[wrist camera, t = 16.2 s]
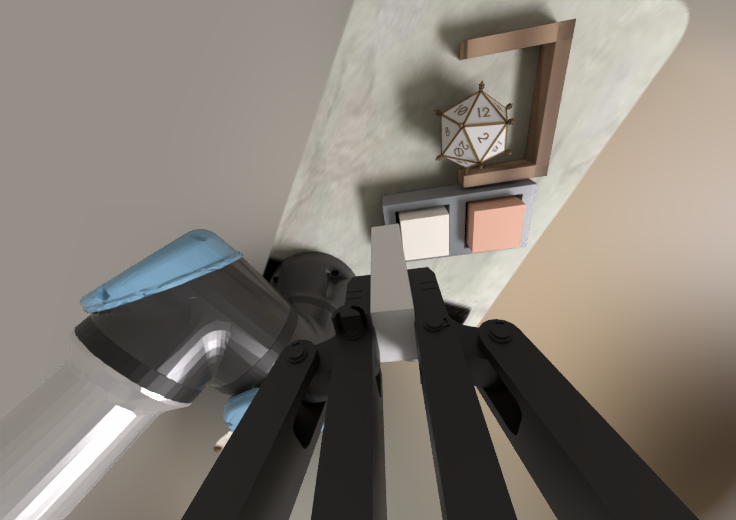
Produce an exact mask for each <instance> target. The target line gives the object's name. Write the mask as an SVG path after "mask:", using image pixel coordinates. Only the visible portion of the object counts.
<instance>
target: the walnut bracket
mask: <svg viewBox="0 0 736 520" xmlns="http://www.w3.org/2000/svg"><path fill="white" fill-rule="evenodd" d="M575 22H576V19H572V20H567V21H561V22H556V23H551V24H546V25H541V26H536V27H531V28H526V29H521V30H516V31H511V32H506V33H501V34H496V35H491V36H486V37H481V38H476V39H471V40H467V41H464V42H461V43H460V60H463V59H468V58H473V57H478V56H484V55H489V54H494V53H499V52H505V51H510V50H515V49H520V48H525V47H531V46H536V45H541V46H540V53H539V60H538V67H537V75H536V82H535V89H534V96H533V103H532V110H531V117H530V124H529V131H528V139H527V146H526V153H525V159H522V160H516V161H509V162H503V163H496V164H490V165H483V167H482V169H481V170H480V169H478V166H477V167H470V168H469V172H468V173H467V174H465V172H464V171H465V170H464V169H465V168H464V169H458V181H459V182H460V184H461V185H462V186H463V187H464V188H466V187H473V186H479V185H486V184H493V183H500V182H507V181H513V180H520V179H527V178H534V177H541V176H547V171H548V165H549V160H550V155H551V149H552V144H553V139H554V133H555V128H556V123H557V117H558V112H559V107H560V101H561V96H562V91H563V85H564V80H565V75H566V69H567V64H568V59H569V53H570V48H571V43H572V37H573V32H574V27H575Z"/></svg>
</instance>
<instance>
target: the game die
mask: <svg viewBox="0 0 736 520" xmlns="http://www.w3.org/2000/svg"><path fill="white" fill-rule="evenodd" d="M483 88H484V83H483V80H482V82H481V83H480V84H479V91H478V92H476V93H475V94H473V95H471V96H470V97H468V98H466V99H465V100H463V101H461V102H460V103H458V104H456V105H455V106H453V107H451V108H450V109H448V110H446V111H445V112H443V113H442V112H441V111H439V110H434V111H435V113H436V114H437V115H439V116H441V155H438V156H437V158H436V160H439V161H440V159H441V158H442V157H444V158H447V159H449V160H451V161H453V162H455V163H457V164H459V165H461V166H463V167H466V168H465V169H464V170H465V171H464V172H465V174H467V173H468V172H469V168H470V167H472V166H475V165H478V169H480V170H481V169H482V167H483V164H482V163H483V162H485V161H487V160H489V159H491V158H493V157H495V156H497V155H499V154H501V153H503V152H504V153H505V154H507V155H512V154H511V152H510V151H509V150H506V140H507V129H508V124H509V125H511V124H513V123H514V122H515V120H514V119H513V118H512V119H509V120H508V116H507V110H509V109H510V108H512V106H513V103H512V104H510V103H509V104H508V105H507V106H506V107H504V106H503V105H501V104H500V103H499V102H497V101H496V100H494V99H493V98H492V97H490V96H489V95H487V94H486V93H485V92H483Z"/></svg>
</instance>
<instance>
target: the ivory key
mask: <svg viewBox="0 0 736 520" xmlns="http://www.w3.org/2000/svg"><path fill="white" fill-rule="evenodd" d="M399 221H400V230H401V239H402V244H403V250H404V256H405V261H406V260H414V259H422V258H430V257H438V256H446V255H449V213H448V212H447V210H446V208H445V206H444V205H440V206H433V207H426V208H419V209H412V210H405V211H399Z"/></svg>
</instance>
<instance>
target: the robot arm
mask: <svg viewBox="0 0 736 520" xmlns="http://www.w3.org/2000/svg"><path fill="white" fill-rule="evenodd" d="M242 256H243V255H242V254H241V253H240V252H237V251H235V250H234V249H233V248H232V247H231V246H229V245H228V244H227V243H226V242H225V241H223V240H222V239H221V238H220V237H219V236H218V235H216V234H215V233H213V232H211V231H208V230H203V229H199V230H193V231H190V232H188V233H186V234H185V235H183V236H182V237H180V238H178V239H176V240H175V241H173V242H172V243H170V244H168V245H166V246H165V247H163V248H162V249H160V250H158V251H157V252H155V253H153V254H152V255H150V256H148V257H147V258H145V259H143V260H142V261H140V262H138V263H137V264H135V265H134V266H132V267H130V268H129V269H127V270H125V271H124V272H122V273H121V274H119V275H118V276H116V277H114V278H112V279H111V280H109V281H108V282H106V283H104V284H102V285H101V286H99V287H98V288H96V289H94V290H93V291H91V292H90V293H88V294H86V295H85V296H83V297H82V298H81V299H80V304H81V305H82V306H83V310H84V311H85V312H87V313H92V314H91V315H90V316H89V317H87V318H86V319H85V320H84V321H83V322H81V323H80V324H79V325H78V326H77V327H75V328H74V329H73V330H72V331H71V333H70V356H69V359H68V360H67V361H66V362H64V363H63V364H62V365H61V366H60V367H59V368H57V369H56V370H55V371H54V372H53V373H52V374H50V375H49V376H48V377H47V378H46V379H45V380H44V381H42V382H41V383H40V384H39V385H38V386H37V387H35V388H34V389H33V390H32V391H31V392H29V393H28V394H27V395H26V396H25V397H24V398H22V399H21V400H20V401H19V402H18V403H17V404H16V405H14V406H13V407H12V408H11V409H10V410H8V411H7V412H6V413H5V414H4V415H3V416H1V417H0V520H64V519H65V517H66V516H67V515H68V514H69V513H70V512H71V511H72V510H73V509H74V507H76V505H77V504H78V503H79V502H80V501H81V500H82V499H83V498H84V497H85V496H86V494H87V493H88V492H89V491H90V490H91V489H92V488H93V487H94V486H95V484H96V483H97V482H98V481H99V480H100V479H101V478H102V477H103V476H104V475H105V473H106V472H107V471H108V470H109V469H110V468H111V467H112V466H113V465H114V464H115V463H116V461H117V460H118V459H119V458H120V457H121V456H122V455H123V454H124V453H125V451H126V450H127V449H128V448H129V447H130V446H131V445H132V444H133V443H134V442H135V441H136V439H137V438H138V437H139V436H140V435H141V434H142V433H143V432H144V431H145V430H146V428H147V427H148V426H149V425H150V424H151V423H152V422H153V421H154V420H155V418H156V417H157V416H158V415H159V414H161V413H163V412H165V411H168V410H173V409H177V408H182V407H187V406H189V405H190V404H191V403H192V402H193V401H194V400H195V398H196V397H197V396H198V395H199V394H200V393H201V392H202V390H203V389H204V388H205V387H206V386H207V385H210V386H212V387H214V388H216V389H217V390H219V391H220V392H222V393H223V394H225V395H226V396H228V397H229V400H228V401H227V403H226V404H225V407H224V410H225V411H224V416H223V417H224V420H225V422H226V425H227V426H228V427H229V428H230V429H231V430H232V431H234V432H233V434H232V435H231V437H230V439H229V440H228V442H227V444H226V445H225V447H224V449H223V450H222V452H221V454H220V455H219V457H218V459H217V460H216V462H215V464H214V466H213V467H212V469H211V470H210V472H209V474H208V476H207V477H206V479H205V480H204V482H203V484H202V485H201V487H200V489H199V490H198V492H197V494H196V496H195V497H194V499H193V501H192V502H191V504H190V506H189V507H188V509H187V511H186V512H185V514H184V516H183V517H182V519H181V520H289V517H290V515H291V512H292V509H293V507H294V504H295V501H296V498H297V496H298V493H299V490H300V487H301V484H302V482H303V479H304V476H305V473H306V471H307V468H308V465H309V462H310V459H311V457H312V454H313V451H314V449H315V446H316V443H317V440H318V438H319V435H320V432H321V431H322V430H323V436H322V443H321V450H320V458H319V465H318V472H317V479H316V487H315V494H314V501H313V508H312V516H311V520H387V507H386V478H385V451H384V420H383V390H382V373H381V369H380V360H381V362H391V361H401V360H413V359H418V361H419V370H420V380H421V384H422V389H423V396H424V403H425V409H426V415H427V422H428V428H429V434H430V441H431V448H432V454H433V460H434V467H435V473H436V479H437V486H438V492H439V499H440V505H441V512H442V518H443V520H517V518H516V514H515V511H514V508H513V505H512V502H511V499H510V496H509V493H508V490H507V486H506V484H505V480H504V477H503V474H502V471H501V468H500V465H499V462H498V459H497V456H496V453H495V450H494V446H493V443H492V440H491V437H490V434H489V431H488V428H487V425H486V422H485V419H484V415H483V413H482V409H481V406H480V403H479V400H478V397H477V394H476V391H475V388H474V386H476V387H477V389H478V390H479V392H480V393H481V395H482V397H483V398H484V400H485V402H486V403H487V405H488V407H489V408H490V410H491V412H492V413H493V415H494V416H495V418H496V419H497V421H498V423H499V425H500V426H501V428H502V429H503V431H504V432H505V434H506V436H507V438H508V439H509V441H510V442H511V444H512V446H513V447H514V449H515V451H516V452H517V454H518V455H519V457H520V459H521V460H522V462H523V463H524V465H525V467H526V469H527V470H528V472H529V473H530V475H531V477H532V478H533V480H534V482H535V483H536V485H537V487H538V488H539V490H540V491H541V493H542V495H543V496H544V498H545V499H546V501H547V503H548V504H549V506H550V508H551V509H552V511H553V513H554V514H555V516H556V517H557V519H558V520H699V519H698V518H697V517H696V516H695V515H694V514H693V513H692V512H691V511H690V510H689V509H688V507H687V506H686V505H685V504H684V503H683V502H682V501H681V500H680V499H679V498H678V497H677V496H676V495H675V494H674V493H673V492H672V491H671V490H670V489H669V487H668V486H667V485H666V484H665V483H664V482H663V481H662V480H661V479H660V478H659V477H658V476H657V475H656V474H655V472H654V471H653V470H652V469H651V468H650V467H649V466H648V465H647V464H646V463H645V462H644V461H643V460H642V459H641V458H640V457H639V455H638V454H637V453H636V452H635V451H634V450H633V449H632V448H631V447H630V446H629V445H628V444H627V443H626V442H625V441H624V440H623V439H622V437H621V436H620V435H619V434H618V433H617V432H616V431H615V430H614V429H613V428H612V427H611V426H610V425H609V424H608V423H607V422H606V420H605V419H604V418H603V417H602V416H601V415H600V414H599V413H598V412H597V411H596V410H595V409H594V408H593V407H592V406H591V405H590V404H589V403H588V402H587V400H586V399H585V398H584V397H583V396H582V395H581V394H580V393H579V392H578V391H577V390H576V389H575V388H574V387H573V385H572V384H571V383H570V382H569V381H568V380H567V379H566V378H565V377H564V376H563V375H562V374H561V373H560V372H559V371H558V370H557V369H556V367H554V365H553V364H552V363H551V362H550V361H549V360H548V359H547V358H546V357H545V356H544V355H543V354H542V353H541V352H540V351H539V350H538V348H537V347H536V346H535V345H534V344H533V343H532V342H531V341H530V340H529V339H528V338H527V337H526V336H525V335H524V334H523V333H522V331H521V330H520V329H519V328H517V327H516V326H515V325H514V324H512V323H510V322H507V321H505V320H498V319H493V320H488V321H486V322H484V323H482V324H481V326H480V327H479V328H477V327H471V326H466V325H462V324H459V323H457V322H455V321H454V320H452V319H451V318H450V317H449V315H448V313H447V311H446V308H445V305H444V302H443V298H442V295H441V292H440V289H439V286H438V282H437V279H436V276H435V273H434V272H433V271H432V270H430V269H429V268H428V267H425V268H417V269H408V270H407V267H406V261H405V256H404V250H403V244H402V239H401V233H400V227H399V224H392V225H385V226H377V227H371V275H365V276H357V277H356V276H355V274H354V273H353V271H352V270H351V269H350V268H349V267H348V266H347V265H346V264H344V263H343V262H342V261H340V260H338V259H336V258H334V257H332V256H329V255H326V254H322V253H314V252H308V253H300V254H296V255H293V256H291V257H289V258H287V259H285V260H284V261H283V262H281V263H280V264H279V265H278V267H277V268H276V270H275V271H274V273H273V275H272V277H271V280H270V283H269V282H268V281H267V280H266V279H265V278H264V277H263V276H262V275H261V274H260V273H258V272H257V271H256V270H255V269H254V268H253V267H252V266H251V265H250V264H249V263H248V262H247V261H246V260H245V259H244V258H243V257H242Z"/></svg>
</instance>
